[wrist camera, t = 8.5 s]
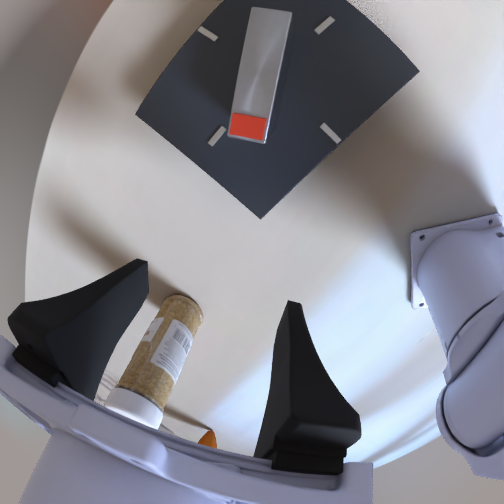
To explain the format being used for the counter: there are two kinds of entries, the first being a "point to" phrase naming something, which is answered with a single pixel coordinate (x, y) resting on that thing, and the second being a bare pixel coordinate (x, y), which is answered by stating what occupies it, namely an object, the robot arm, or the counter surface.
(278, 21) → the tap handle
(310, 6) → the base
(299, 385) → the robot arm
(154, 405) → the sprinkles bottle
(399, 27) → the counter surface
